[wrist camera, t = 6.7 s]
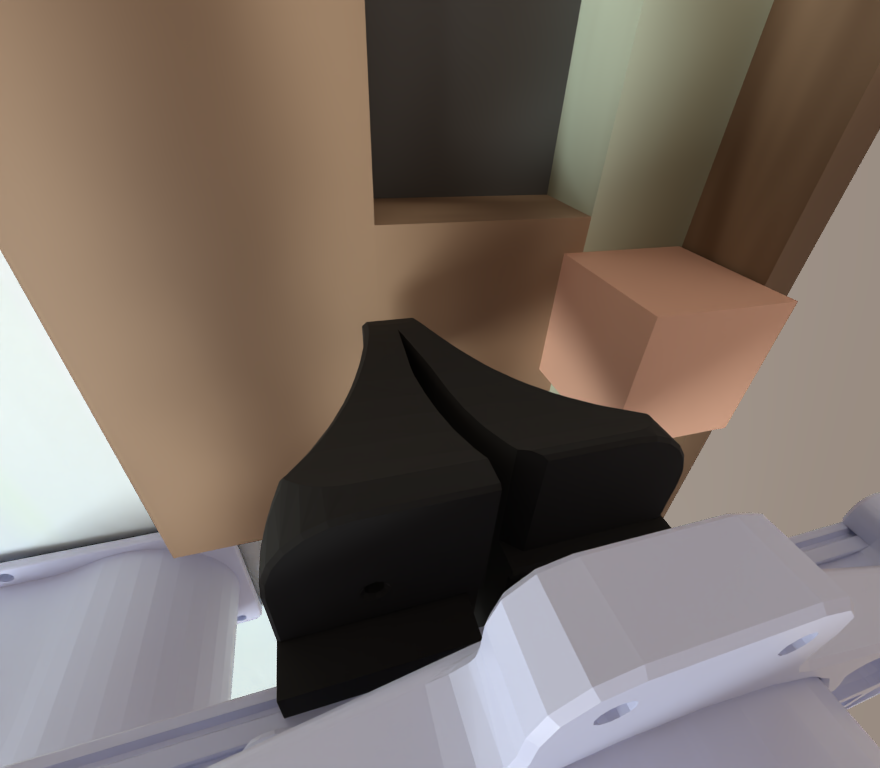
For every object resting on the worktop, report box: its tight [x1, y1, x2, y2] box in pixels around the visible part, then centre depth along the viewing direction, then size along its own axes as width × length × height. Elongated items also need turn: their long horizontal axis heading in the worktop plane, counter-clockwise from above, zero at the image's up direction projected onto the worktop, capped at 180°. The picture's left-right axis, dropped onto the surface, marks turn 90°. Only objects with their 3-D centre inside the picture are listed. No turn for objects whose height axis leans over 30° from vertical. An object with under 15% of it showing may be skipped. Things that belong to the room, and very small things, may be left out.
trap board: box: [0, 0, 880, 558], centre depth 13 cm, size 18×16×6 cm
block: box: [539, 246, 798, 438], centre depth 12 cm, size 4×4×4 cm
